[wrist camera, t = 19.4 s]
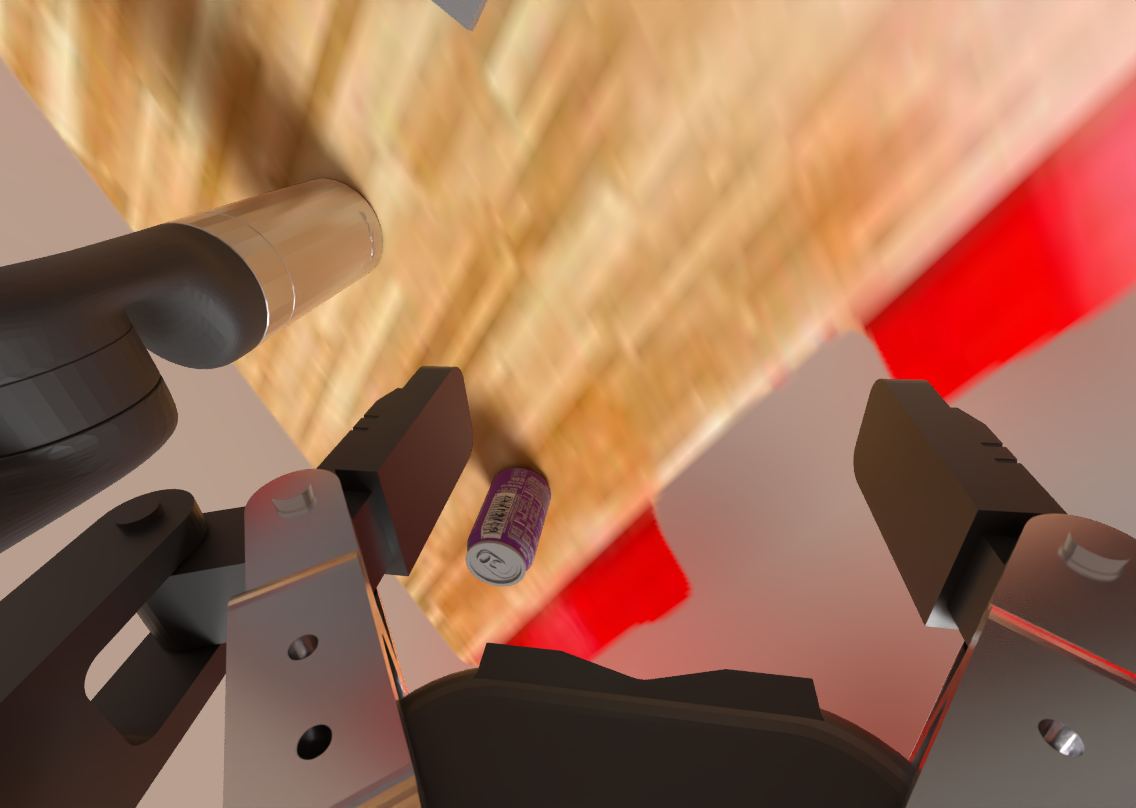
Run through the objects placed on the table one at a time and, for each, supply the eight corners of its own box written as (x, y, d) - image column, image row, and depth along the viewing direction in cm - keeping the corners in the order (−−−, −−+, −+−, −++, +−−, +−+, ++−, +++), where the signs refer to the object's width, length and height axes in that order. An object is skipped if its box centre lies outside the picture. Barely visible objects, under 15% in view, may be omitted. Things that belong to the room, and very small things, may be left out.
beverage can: (483, 489, 64) (449, 565, 54) (512, 453, 61) (482, 528, 51) (531, 519, 66) (507, 599, 56) (563, 485, 62) (543, 564, 52)
